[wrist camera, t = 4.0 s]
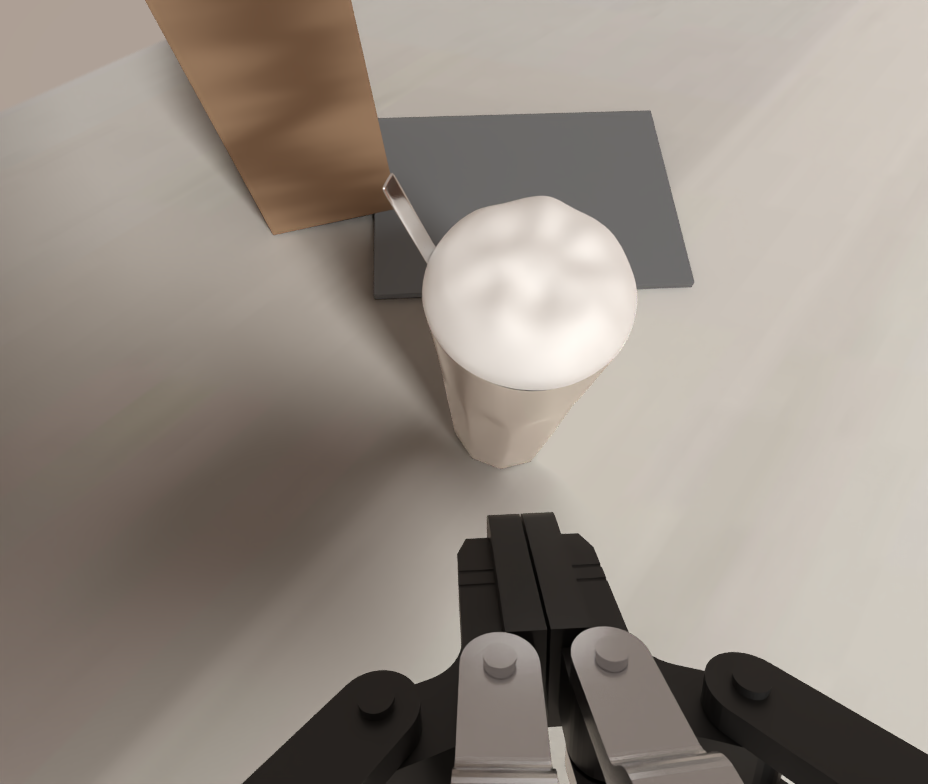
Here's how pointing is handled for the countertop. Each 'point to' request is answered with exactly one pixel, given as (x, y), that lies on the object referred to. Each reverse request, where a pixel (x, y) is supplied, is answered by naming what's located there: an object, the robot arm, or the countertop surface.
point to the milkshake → (520, 317)
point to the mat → (531, 185)
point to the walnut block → (286, 102)
